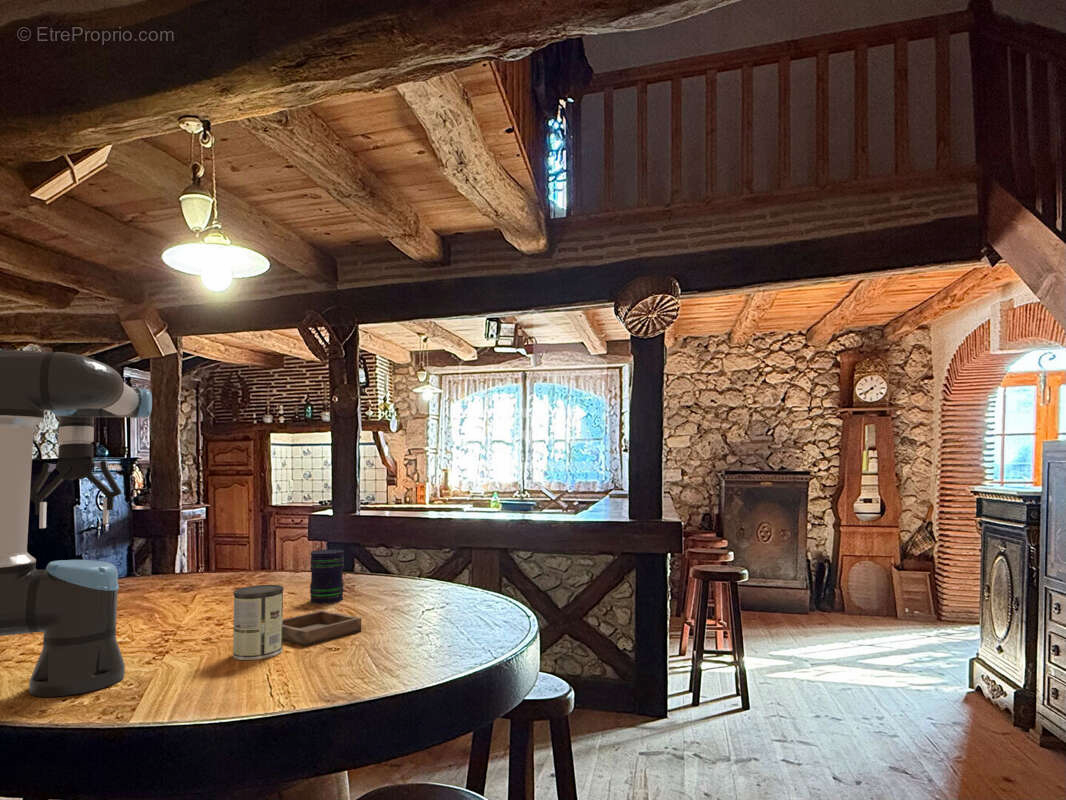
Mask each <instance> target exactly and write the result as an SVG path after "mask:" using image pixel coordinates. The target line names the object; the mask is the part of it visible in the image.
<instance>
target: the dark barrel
mask: <svg viewBox="0 0 1066 800" xmlns="http://www.w3.org/2000/svg"><path fill="white" fill-rule="evenodd" d="M344 562H345V559H344V549H341V548H340V549H339V548H338V549H337V548H334V549H331V548H329V549H319V550H311V551H310V563H309V564H310V568H309V570H310V572H311V579H310V585H309V594H310V600H309V601H310V602H311V603H310V604H312V603H316V604H315V605H326V604H325V603H331V604H335V603H334V602H337V603H339V602H338V601H340V602H342V601H343V600H344V597H343V596H344V589H345V587H344V584H345V583H344V580H343V569H344ZM341 600H342V601H341ZM323 603H324V604H323Z"/></svg>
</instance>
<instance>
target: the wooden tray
mask: <svg viewBox="0 0 1066 800" xmlns="http://www.w3.org/2000/svg"><path fill="white" fill-rule="evenodd" d="M359 632H362V617H357V616H353V615H348V614H343V613H337V612H332V611H327V610H324V609H323V610H319V611H314V612H310V613H306V614H301V615H297V616H291V617H288V618H282V642H286V643H290V644H295V645H298V646H303V647H308V646H312V645H315V644H319V643H324V642H327V641H330V640H333V639H339V638H341V637H344V636H349V635H353V634H356V633H359Z"/></svg>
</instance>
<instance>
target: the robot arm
mask: <svg viewBox="0 0 1066 800" xmlns="http://www.w3.org/2000/svg"><path fill="white" fill-rule="evenodd" d="M152 408H153V395H152V392H151V390H149V389H147V388H140V387H137V388H132V387H131V386H129V385H128V384H127V383H125V382H124V380H123V378H122V376H121V374H120V373H119V372H118V371H117V370H115V369H114V368H113V367H112V366H109V365H108V364H106V363H104V362H101V361H98V360H96V359H93V358H90V357H87V356H85V355H81V354H76V353H71V352H65V351H64V352H62V351H55V352H54V351H41V350H39V351H38V350H37V351H36V350H21V349H6V348H5V349H4V348H0V637H5V636H15V635H25V634H34V633H35V634H36V633H43V642H42V648H41V652H40V655H39V657H38V660H37V662H36V664H35V667H34V669H33V671H32V674H31V676H30V678H29V679H30V680H29V684H28V685H29V686H28V689H29V690H28V693H29V695H32V696H35V697H41V698H53V697H54V698H55V697H64V696H72V695H79V694H84V693H88V692H93V691H97V690H100V689H104V688H106V687H110V686H113V685H114V684H117V683H118V682H120V681H122V680H123V679H124V678H125V670H126V669H125V667H126V665H125V662H124V659H123V658H124V657H123V655H122V653H121V649H120V646H119V643H118V640H117V636H116V635H117V634H116V633H117V615H118V614H117V612H118V610H117V609H118V595H119V594H118V592H119V591H118V590H119V589H120V585H119V573H118V571H119V570H118V568H117V567H116V566H115V564H112V563H110V562H106V561H102V560H91V559H90V560H89V559H67V560H66V559H65V560H63V559H61V560H53V561H50V562H49V563H48V564H47V565H46V567H45V569H37V568H36V565H37V559H36V558H35V557H34V556H32V555H31V554H30V553H29V552H28V534H29V517H30V501H31V502H34V515H35V516H39V520H38V521H39V522H38V524H39V527H38V528H39V529H46V528H47V511H48V510H47V507H48V502H47V501H44V500H46V498H48V496H49V495H51V493H52V492H53V491H54V490H55V489H56V488H57V487H58V486H59V485H61V483H62V482H63V481H64V480H68V481H70V480H71V481H72V480H76V479H77V480H84V479H88V481H90V483H91V484H93V485H94V486H95V488H96V489H98V490H99V491H100V492H101V493H102V494H103V495H105V498H102V502H103V503H102V524H104V525H105V524H109V514H110V513H109V511H113V510H114V498H115V497H118V496H120V495H122V490H121V488H120V487H119V485H118V483H117V481H116V480H115V478H114V476H113V474H112V473H111V471H110V470H109V464H108V461H106V460H101V461H98V462H97V461H96V462H95V460H94V444H93V442H94V439H95V437H94V435H95V433H94V432H95V430H94V429H95V428H94V427H95V425H94V420H95V418H128V419H129V418H131V419H132V418H133V419H138V418H148V417H150V416H151V413H152V410H153V409H152ZM45 411H49V412H50V413H52V414H53V415H55V416H58V419H59V421H58V424H59V425H58V443H60V444H59V445H58V449H57V450H58V453H57V455H58V456H57V457H58V458H57V463H55V464H54V463H48V462H45V463H43V464H42V468H41V473H40V474H39V476H38V477H37V478H36V480H35V482H34V483H33V485H32V487H31V483H32V467H33V466H32V465H33V450H34V448H33V447H34V431H35V428H36V427H37V426H38V425H40V424H41V423H42V422H44V421H45ZM96 467H97V469H98V470H101V473H102V475H103V476H104V478H105V480H106V481H107V484H108V485H109V486H110V487H111V490H112V491H110V489H109V488H108V487H107V486H105V485H104V484H103V482H101V480H99V479H98V478H97V477H96V475H95V474H93V472H92V471H94V469H95V468H96ZM55 469H56V470H57V471H58V472H59V474H57V475H56V476H55V478H54V479H53V480H52V481H51V482H50V483H49V484H48V485H47V486H46V487H45V488H44V489H43V490H42V491H41V492H40V490H41V488H42V487H43V485H44V484H45V482H46V481H47V479H48V477H49V475H50V474H51V473H52V472H53V471H54V470H55ZM39 492H40V493H39ZM38 493H39V494H38Z"/></svg>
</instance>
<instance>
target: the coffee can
mask: <svg viewBox="0 0 1066 800" xmlns="http://www.w3.org/2000/svg"><path fill="white" fill-rule="evenodd" d="M283 593H284V586H283V585H279V584H259V585H257V584H256V585H251V586H245V587H244V586H243V587H240V588H237V589H235V590H233V634H232V635H233V639H232V640H233V641H232V643H233V646H232V650H233V651H232V653H233V654H232V658H233V659H235V660H238V661H256V660H257V661H258V660H265V659H269V658H271V657H276V656H277V655H280V654H281V653H282V652H283V641H282V619H283V610H284V608H283V607H284V605H283V602H284V601H283V600H284V599H283V597H284V594H283Z"/></svg>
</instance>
